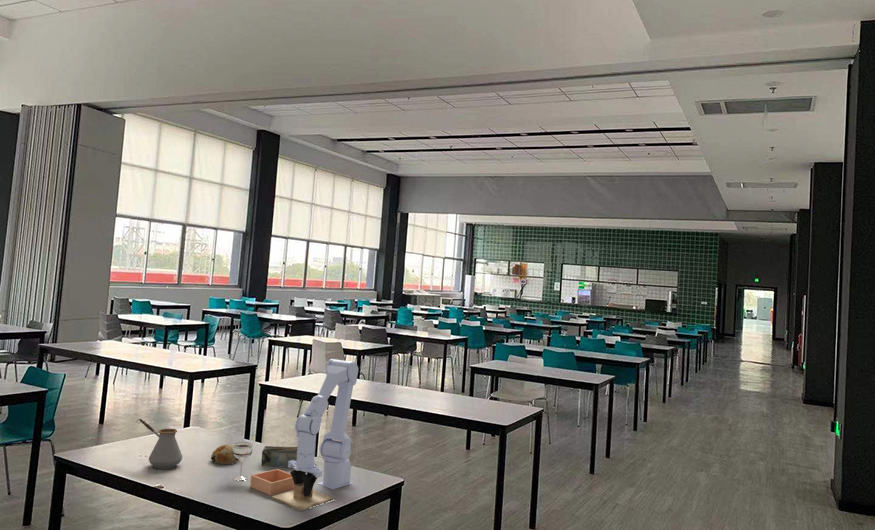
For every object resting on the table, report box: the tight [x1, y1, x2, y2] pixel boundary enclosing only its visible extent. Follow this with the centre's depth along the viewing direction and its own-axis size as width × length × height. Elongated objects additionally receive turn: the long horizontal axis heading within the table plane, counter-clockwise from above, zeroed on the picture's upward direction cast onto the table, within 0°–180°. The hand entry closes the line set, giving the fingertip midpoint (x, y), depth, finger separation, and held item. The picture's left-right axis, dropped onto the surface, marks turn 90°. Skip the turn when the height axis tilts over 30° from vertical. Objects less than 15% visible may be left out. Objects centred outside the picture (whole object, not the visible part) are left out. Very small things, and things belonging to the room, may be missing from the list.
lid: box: [271, 483, 334, 510], centre depth 207 cm, size 14×14×5 cm
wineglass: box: [232, 441, 254, 482], centre depth 225 cm, size 7×7×12 cm
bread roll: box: [210, 444, 240, 465], centre depth 244 cm, size 10×10×8 cm
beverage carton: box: [260, 445, 298, 468], centre depth 246 cm, size 8×19×7 cm, turn 98°
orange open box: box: [249, 468, 294, 497], centre depth 216 cm, size 11×11×4 cm
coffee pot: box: [136, 418, 183, 470], centre depth 235 cm, size 21×12×15 cm, turn 65°
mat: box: [267, 496, 326, 513], centre depth 207 cm, size 16×16×1 cm
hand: (303, 494), depth 207 cm, fingers closed on lid, 3 cm apart
